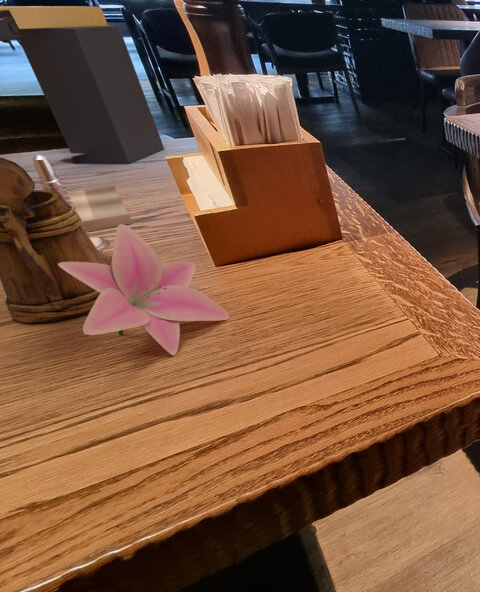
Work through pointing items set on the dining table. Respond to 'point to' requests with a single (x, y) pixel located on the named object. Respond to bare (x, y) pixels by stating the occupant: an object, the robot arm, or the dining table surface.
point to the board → (99, 208)
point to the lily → (142, 292)
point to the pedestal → (93, 92)
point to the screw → (61, 192)
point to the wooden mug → (41, 251)
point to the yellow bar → (56, 16)
